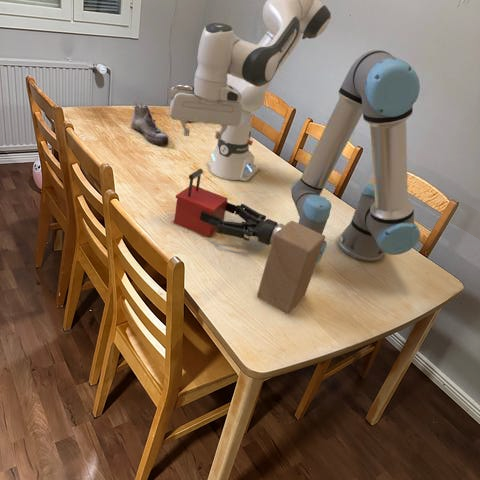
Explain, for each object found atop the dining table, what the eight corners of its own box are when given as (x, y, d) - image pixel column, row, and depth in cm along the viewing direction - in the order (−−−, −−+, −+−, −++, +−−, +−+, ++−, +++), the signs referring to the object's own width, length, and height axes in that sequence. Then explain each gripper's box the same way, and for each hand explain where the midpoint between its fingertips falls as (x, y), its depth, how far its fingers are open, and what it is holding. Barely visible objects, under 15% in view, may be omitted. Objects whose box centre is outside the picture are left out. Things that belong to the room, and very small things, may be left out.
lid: (175, 197, 135) (178, 173, 130) (191, 186, 143) (194, 163, 138) (213, 212, 131) (217, 188, 127) (227, 200, 140) (232, 177, 135)
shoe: (172, 146, 190) (175, 119, 184) (147, 147, 185) (150, 118, 178) (151, 125, 207) (154, 99, 201) (129, 125, 202) (130, 98, 195)
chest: (173, 223, 139) (176, 198, 135) (189, 211, 147) (192, 187, 143) (208, 237, 136) (213, 212, 131) (222, 224, 144) (227, 200, 140)
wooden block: (289, 314, 113) (310, 251, 102) (255, 296, 116) (273, 233, 106) (304, 296, 120) (326, 235, 110) (273, 279, 124) (291, 219, 113)
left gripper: (172, 87, 115) (167, 137, 122) (247, 96, 121) (237, 144, 128) (170, 80, 120) (165, 129, 127) (241, 90, 126) (233, 136, 133)
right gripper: (257, 262, 125) (189, 234, 130) (283, 229, 143) (222, 206, 149) (263, 240, 121) (193, 212, 126) (289, 209, 139) (226, 186, 145)
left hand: (202, 136), depth 128 cm, fingers open, 8 cm apart
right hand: (209, 208), depth 138 cm, fingers closed on chest, 10 cm apart
